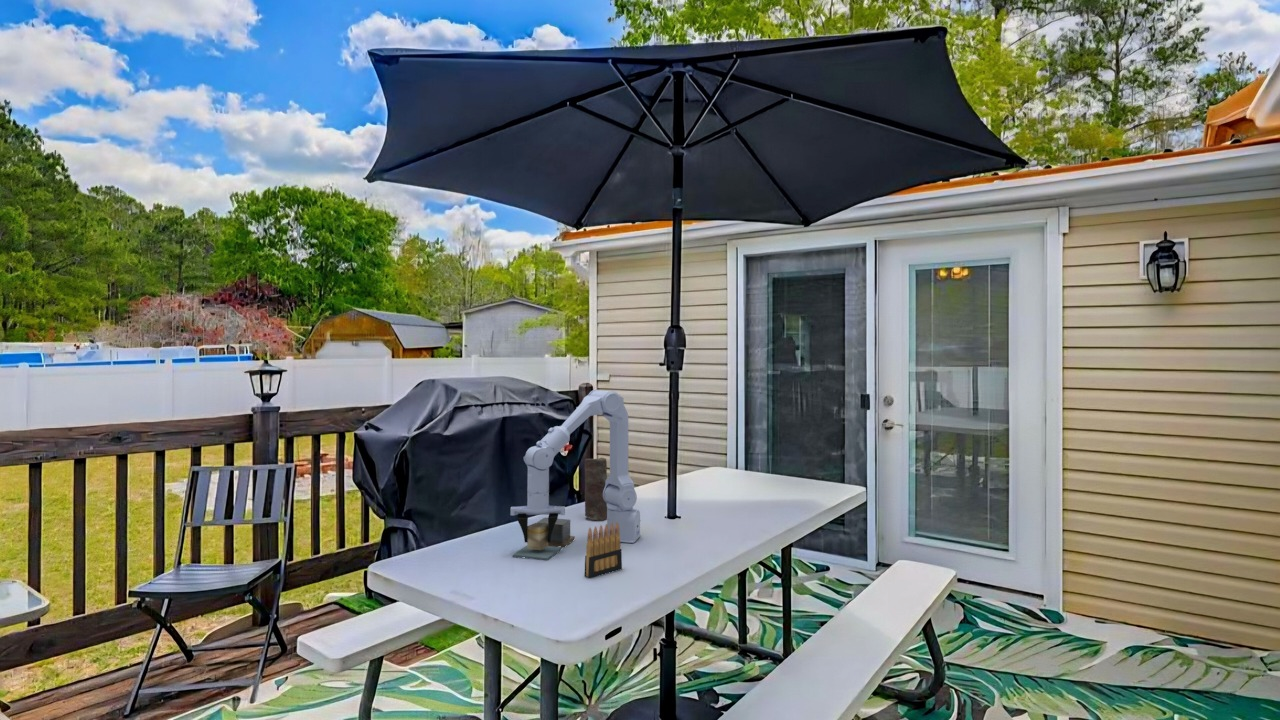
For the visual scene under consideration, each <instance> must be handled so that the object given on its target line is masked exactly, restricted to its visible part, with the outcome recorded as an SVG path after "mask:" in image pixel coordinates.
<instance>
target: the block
mask: <svg viewBox="0 0 1280 720" xmlns="http://www.w3.org/2000/svg"><path fill="white" fill-rule="evenodd" d="M526 544H527V545H526V546H527V548H528V549H534V550H542V549H544V548H546V547H548V524H541V523H537V522H535V523H532V524H528V526H527V542H526Z"/></svg>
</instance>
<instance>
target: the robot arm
mask: <svg viewBox="0 0 1280 720" xmlns="http://www.w3.org/2000/svg"><path fill="white" fill-rule="evenodd" d="M598 415H599V416H600V415H602V416H603V417H604V418H605V419H606V420H607V421H608V422H609V475H608V476H607V479H606V483H605V488H604V490H603V499H604V501H605V502H606V503H607V519H606V524H607V526H608V530H609V531H610V525H611V523H613V526H614V536H615V526H616V523H617V522H618V524H619V530H620V543H627V544H628V543H630V544H634V543H635V542H636V541H637V540H639V538H640V537H641V513H640V510H639V509H635V508H634V506H636V503H637V499H638V498H637V497H638V496H637V495H638V494H637V493H636V490H635V482H634V481H633V479H632V478H631V477H630V475H629V413H628V411H627V408H626V406H625V405H624V398H623V396H621V394H619V393H618V392H616V391H614V390H609V391H607V390H600V389H597V388H596V389H593V390H591V391H590V392H589V393H588V394H587V395H586V396H584V397H583V399H582V401H581V402H580V404H579V405H578V406H577V407H576V409H575V410H574V411H572V413H570V415H569V416H568V418H567V419H565V421H564V422H563V423H562V424H561V425H559V426H558V425H556V426H553V427H550V428H549V429H548V430H547V431H548V432H547V434H545V436H543V437H542V439H541V440H538V441H537V442H536V443H535V444H536V445H534V446H531V447H529V448H527V451H526V452H525V455H524V456H523V461H524V463H525V465H526V467H527V490H526V491H527V492H526V493H527V496H526V499H527V503H526V504H527V505H521V506H511V507H510V516H517V522H518V524H519V526H520V528H521V531H522V535H523V538H524V543H527V526H529V524H528V523H529V522H528V521H529V519H528V517H529V516H530V515H531V516H533V515H535V516H536V515H538V516H540V515H541V516H542V515H543V516H544V515H545V516H547V515H548V517H547V518H548V542H550V541H551V534H552V531H553V528H554V525H555V523H556V521H557V519H559V515H561V516H565V515H566V506H561V505H558V506H557V505H550V504H549V503H550V494H549V493H550V467H551V466H552V465H553V462H554V458H555V456H556V455H558V454H559V452H560V451H561V450H563V448H564V447H565V446H566V445H567V444H568V443H569V442H570V438H571V437H570V436H571V434H572V433H573V432H574V431H575V430H576V429H577V428H579V427H580V426H581V425H582V424H583V423H584V422H585V421H587V419H588V418H590V417H593V416H598Z"/></svg>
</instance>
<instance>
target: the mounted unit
mask: <svg viewBox="0 0 1280 720" xmlns="http://www.w3.org/2000/svg"><path fill="white" fill-rule="evenodd" d="M536 523H541V524H548V517H543V518H542V519H540V520H538V521H537V522H536ZM575 538H576V536H574V535H571V519H565V518H557V521H556V523H555V525H554V528H553V531H552V534H551V541H550V542H548V546H553V547H554V546H561V547H562V548H566V547H567V546H568V545H570V544H571V543H573V542H574V541H575V540H574V539H575ZM573 540H574V541H573ZM570 542H571V543H570ZM569 543H570V544H569ZM567 544H568V545H567ZM566 545H567V546H566ZM565 546H566V547H565Z"/></svg>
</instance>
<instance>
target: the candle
mask: <svg viewBox="0 0 1280 720" xmlns="http://www.w3.org/2000/svg"><path fill="white" fill-rule="evenodd" d="M607 467H608V465H607V458H605V457H600V458H585V459H584V516H585V517H586V518H589V519H590V520H594V521H597V522H602V521H604V520H607V503H606V502H605V501H604V499H603V490H604V488H605V483H606V479H607V478H608V476H607V475H608V472H607V470H608V469H607Z"/></svg>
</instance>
